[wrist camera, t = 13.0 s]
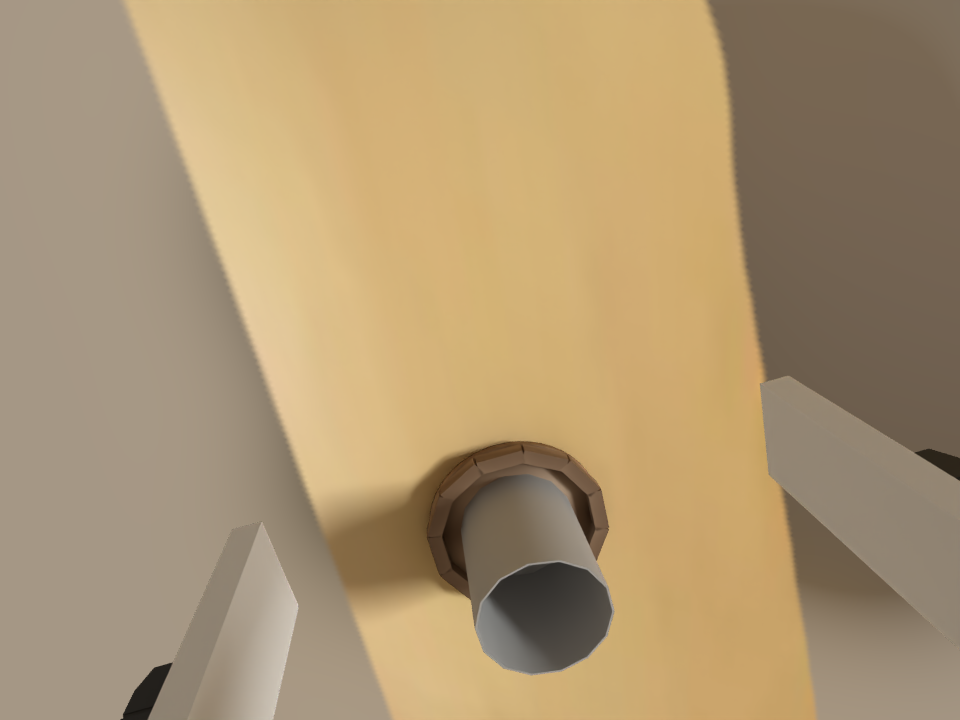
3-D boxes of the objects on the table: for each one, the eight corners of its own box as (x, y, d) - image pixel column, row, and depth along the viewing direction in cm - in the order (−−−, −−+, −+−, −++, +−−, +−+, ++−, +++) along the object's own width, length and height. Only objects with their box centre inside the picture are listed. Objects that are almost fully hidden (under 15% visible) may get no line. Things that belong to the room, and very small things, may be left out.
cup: (527, 587, 49) (556, 693, 40) (439, 541, 47) (448, 641, 37) (594, 506, 47) (641, 597, 38) (506, 454, 45) (533, 537, 36)
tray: (408, 469, 45) (408, 481, 44) (582, 421, 46) (589, 431, 44) (454, 608, 50) (456, 625, 48) (612, 564, 50) (619, 579, 49)
